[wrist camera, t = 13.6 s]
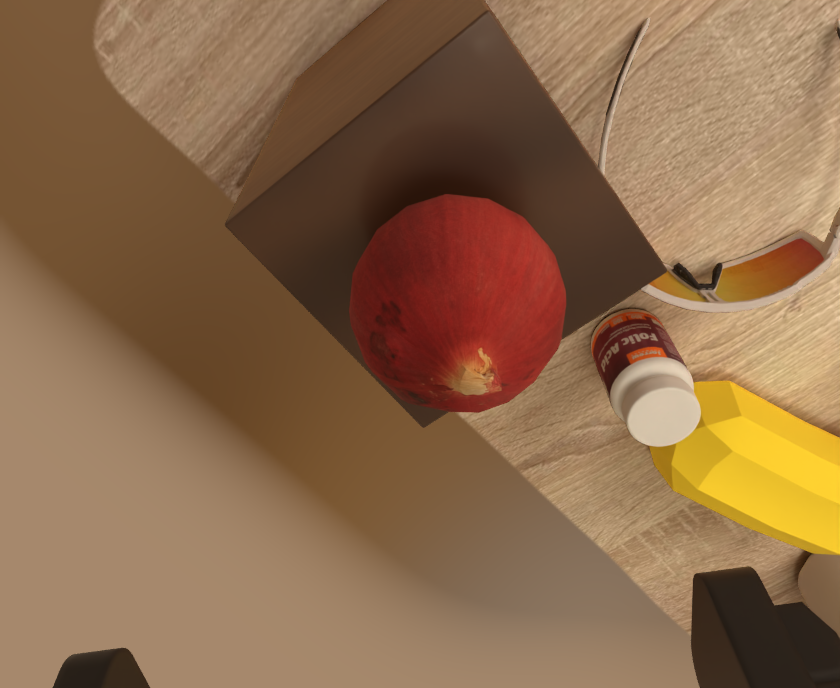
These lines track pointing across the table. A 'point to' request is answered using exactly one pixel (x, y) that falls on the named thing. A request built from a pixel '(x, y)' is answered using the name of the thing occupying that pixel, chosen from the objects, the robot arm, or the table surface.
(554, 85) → the table surface
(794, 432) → the low-poly banana
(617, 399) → the pill bottle
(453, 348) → the onion
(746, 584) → the robot arm
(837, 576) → the can
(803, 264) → the sunglasses
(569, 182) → the stand
